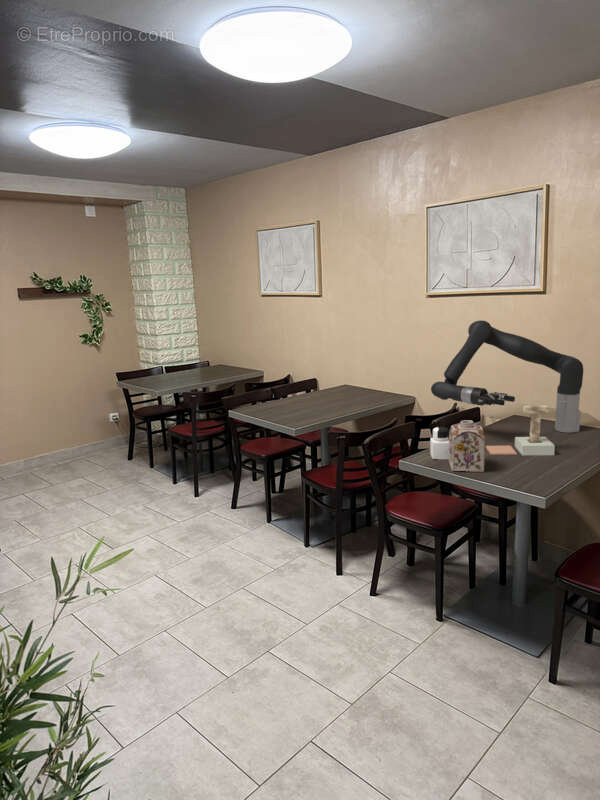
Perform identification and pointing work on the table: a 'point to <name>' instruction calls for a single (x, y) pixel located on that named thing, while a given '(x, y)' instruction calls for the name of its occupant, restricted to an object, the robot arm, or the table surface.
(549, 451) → the socket block
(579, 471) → the table surface
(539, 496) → the table surface
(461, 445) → the decorative jar
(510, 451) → the mat
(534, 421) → the t key
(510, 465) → the table surface
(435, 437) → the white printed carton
